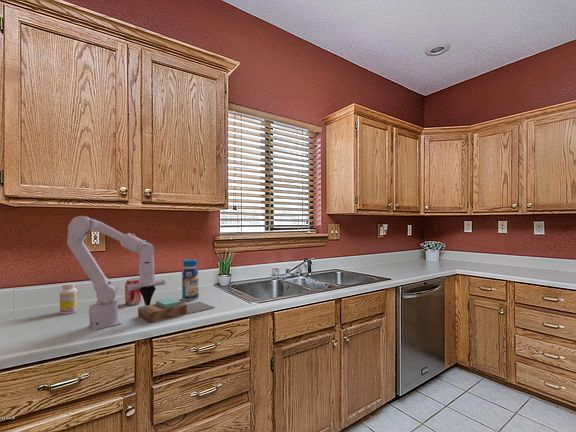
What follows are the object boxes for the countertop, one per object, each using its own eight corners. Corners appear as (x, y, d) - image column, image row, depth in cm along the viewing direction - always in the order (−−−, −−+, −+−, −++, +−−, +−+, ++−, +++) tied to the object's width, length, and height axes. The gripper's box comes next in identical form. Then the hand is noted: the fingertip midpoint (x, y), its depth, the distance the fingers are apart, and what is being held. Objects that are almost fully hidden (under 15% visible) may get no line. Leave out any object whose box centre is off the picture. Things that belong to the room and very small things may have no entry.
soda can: (121, 305, 150) (121, 280, 150) (133, 301, 157) (132, 277, 157) (133, 306, 148) (133, 281, 148) (144, 302, 155) (144, 278, 155)
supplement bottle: (68, 309, 144) (68, 282, 144) (81, 310, 143) (81, 282, 143) (55, 314, 137) (55, 285, 137) (69, 314, 136) (68, 285, 136)
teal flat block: (164, 308, 130) (164, 304, 130) (156, 304, 136) (155, 300, 136) (180, 305, 135) (180, 301, 135) (171, 301, 141) (171, 297, 141)
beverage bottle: (188, 296, 167) (188, 258, 167) (202, 297, 164) (201, 259, 164) (178, 300, 159) (178, 260, 159) (192, 301, 156) (191, 261, 156)
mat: (189, 314, 135) (189, 313, 135) (174, 307, 145) (174, 307, 145) (214, 307, 144) (214, 307, 144) (199, 302, 154) (199, 301, 154)
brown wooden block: (149, 323, 124) (149, 313, 124) (138, 316, 132) (138, 307, 132) (186, 313, 135) (186, 304, 135) (174, 308, 144) (174, 299, 144)
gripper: (132, 275, 121) (132, 310, 121) (168, 270, 132) (168, 302, 132) (125, 273, 126) (126, 307, 126) (161, 269, 137) (161, 299, 137)
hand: (147, 304), depth 129 cm, fingers closed
